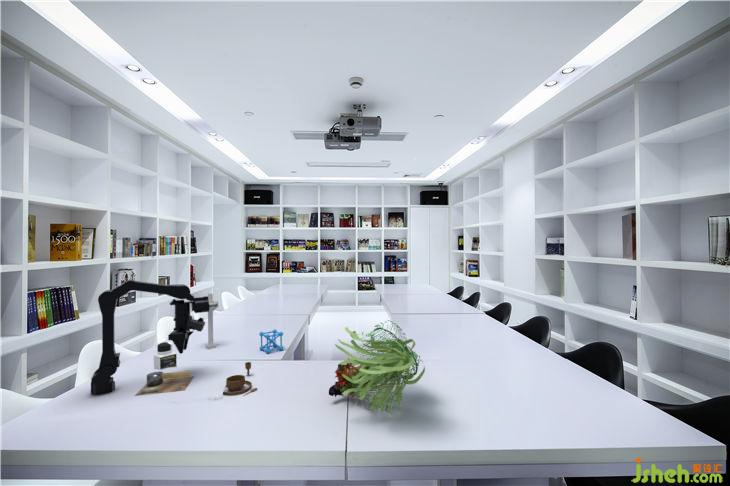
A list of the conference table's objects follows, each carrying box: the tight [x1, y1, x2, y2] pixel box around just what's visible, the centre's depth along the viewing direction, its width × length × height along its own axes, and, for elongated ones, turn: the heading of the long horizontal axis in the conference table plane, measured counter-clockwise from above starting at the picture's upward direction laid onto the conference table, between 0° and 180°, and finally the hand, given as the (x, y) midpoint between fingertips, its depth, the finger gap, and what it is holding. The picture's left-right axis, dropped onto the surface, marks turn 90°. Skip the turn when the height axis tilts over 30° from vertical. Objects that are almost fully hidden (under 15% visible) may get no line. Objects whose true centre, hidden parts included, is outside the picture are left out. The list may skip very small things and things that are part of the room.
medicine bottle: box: [153, 341, 178, 370], centre depth 161 cm, size 7×7×12 cm
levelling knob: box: [146, 370, 192, 386], centre depth 140 cm, size 16×6×4 cm, turn 104°
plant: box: [328, 319, 426, 418], centre depth 119 cm, size 35×35×40 cm
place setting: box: [222, 361, 258, 397], centre depth 140 cm, size 18×20×6 cm
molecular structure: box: [258, 329, 284, 354], centre depth 187 cm, size 10×10×10 cm
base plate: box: [134, 375, 195, 397], centre depth 137 cm, size 17×15×3 cm
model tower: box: [205, 293, 219, 350], centre depth 194 cm, size 8×8×30 cm
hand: (183, 351), depth 147 cm, fingers open, 5 cm apart
